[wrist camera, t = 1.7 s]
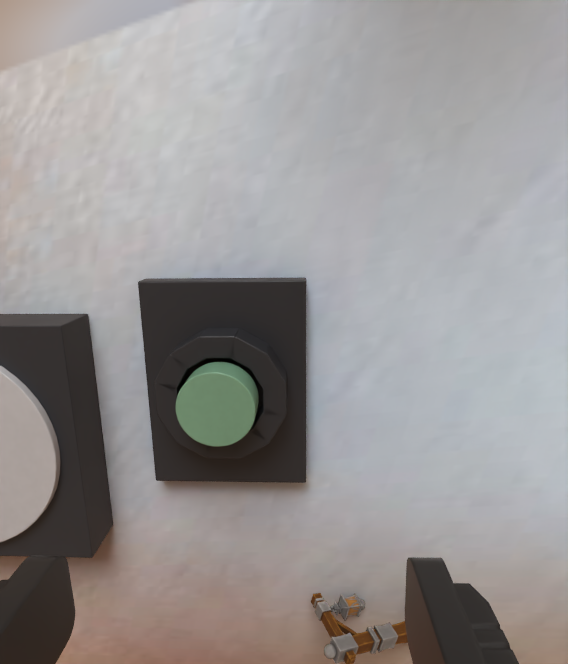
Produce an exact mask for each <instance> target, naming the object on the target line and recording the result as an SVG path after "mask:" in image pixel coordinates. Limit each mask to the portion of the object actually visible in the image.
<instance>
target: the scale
mask: <svg viewBox="0 0 568 664" xmlns="http://www.w3.org/2000/svg"><path fill="white" fill-rule="evenodd" d="M112 525H113V520H112V512H111V504H110V495H109V487H108V479H107V470H106V462H105V454H104V445H103V437H102V429H101V421H100V412H99V404H98V396H97V387H96V379H95V371H94V362H93V354H92V346H91V337H90V329H89V321H88V314H0V556H64V557H84V558H92V557H93V556H94V554H95V553H96V551H97V549H98V548H99V546H100V545H101V543H102V541H103V540H104V538H105V537H106V535H107V533H108V532H109V530H110V529H111V527H112Z"/></svg>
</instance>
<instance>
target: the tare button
mask: <svg viewBox="0 0 568 664" xmlns="http://www.w3.org/2000/svg"><path fill="white" fill-rule="evenodd" d="M258 403H259V395H258V390H257V387H256V384H255V382H254V381H253V379H252V378H251V376H250V375H249V374H248V373H247V372H246V371H244V370H243V369H242V368H240V367H238V366H236V365H234V364H231V363H227V362H212V363H208V364H205V365H203V366H201V367H199V368H198V369H196V370H195V371H194V372H193V373H192V374H191V375H190V377H189V378H188V379H187V381H186V382H185V384H184V385H183V386H182V388H181V389H180V391H179V393H178V396H177V399H176V415H177V419H178V421H179V423H180V425H181V427H182V429H183V430H184V431H185V432H186V433H187V434H188V435H189V436H190V437H191V438H192V439H194V440H195V441H197V442H199V443H201V444H204V445H208V446H215V447H221V446H227V445H231V444H233V443H236V442H237V441H239V440H241V439H242V438H243V437H244V436H245V435H246V434H247V433H248V432H249V431H250V429H251V427H252V425H253V423H254V420H255V416H256V412H257V408H258Z"/></svg>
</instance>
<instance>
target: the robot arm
mask: <svg viewBox="0 0 568 664" xmlns="http://www.w3.org/2000/svg"><path fill="white" fill-rule="evenodd" d="M74 620H75V606H74V599H73V593H72V586H71V580H70V574H69V567H68V562H67V559H66V558H65V557H64V556H29V557H28V558H26V559H25V560H24V561H23V563H22V564H21V565H20V566H19V567H18V569H17V570H16V571H15V572H14V573H13V575H12V576H11V577H10V578H9V579H8V580H1V581H0V664H55V663H56V662H57V660H58V658H59V656H60V655H61V653H62V651H63V649H64V648H65V646H66V644H67V642H68V640H69V638H70V636H71V633H72V630H73V626H74ZM405 625H406V634H407V640H408V645H409V649H410V653H411V657H412V661H413V664H519V663H518V661H517V659H516V657H515V655H514V653H513V651H512V650H511V649H510V645H509V643H508V641H507V639H506V637H505V634H504V632H503V630H501V629H500V624H499V622H498V620H497V618H496V616H495V614H494V612H493V610H492V608H491V606H490V604H489V602H488V601H487V600H486V599H484V598H483V597H482V596H481V595H480V594H479V593H478V592H477V591H476V590H475V589H474V588H473V587H472V586H471V585H470V584H461V583H453V581H452V579H451V577H450V574H449V572H448V570H447V567H446V565H445V563H444V561H443V559H442V558H408V560H407V570H406V598H405Z"/></svg>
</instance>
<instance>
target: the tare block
mask: <svg viewBox="0 0 568 664" xmlns="http://www.w3.org/2000/svg"><path fill="white" fill-rule="evenodd" d="M138 286H139V297H140V308H141V319H142V330H143V341H144V352H145V363H146V374H147V385H148V396H149V407H150V418H151V429H152V440H153V451H154V462H155V473H156V480H157V481H228V482H298V483H305V482H306V278H192V279H144V280H142V281H139V282H138ZM212 362H227V363H231V364H234V365H236V366H238V367H240V368H242V369H243V370H244V371H246V372H247V373H248V374H249V375H250V376H251V378H252V379H253V381H254V382H255V384H256V387H257V390H258V395H259V403H258V408H257V412H256V416H255V420H254V423H253V425H252V427H251V429H250V431H249V432H248V433H247V434H246V435H245V436H244V437H243V438H242V439H241V440H239V441H237V442H236V443H233V444H231V445H227V446H221V447H215V446H208V445H204V444H201V443H199V442H197V441H195V440H194V439H192V438H191V437H190V436H189V435H188V434H187V433H186V432H185V431H184V430H183V429H182V427H181V425H180V423H179V421H178V419H177V415H176V399H177V396H178V393H179V391H180V389H181V388H182V386H183V385H184V384H185V382H186V381H187V379H188V378H189V377H190V375H191V374H192V373H193V372H194V371H195V370H196V369H198V368H199V367H201V366H203V365H205V364H208V363H212Z"/></svg>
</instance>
